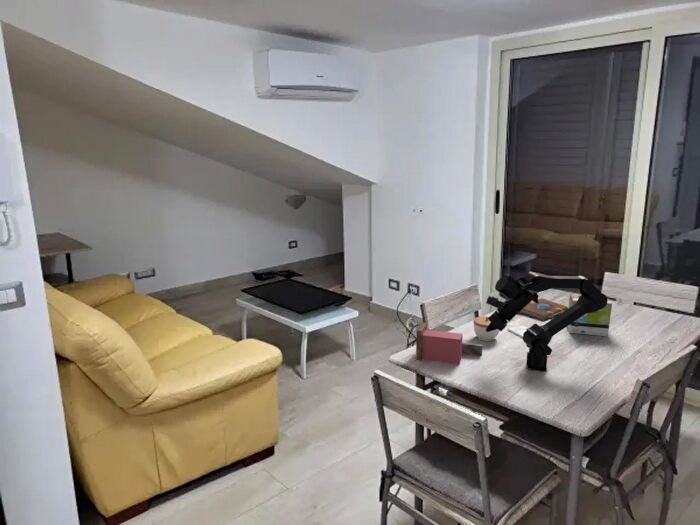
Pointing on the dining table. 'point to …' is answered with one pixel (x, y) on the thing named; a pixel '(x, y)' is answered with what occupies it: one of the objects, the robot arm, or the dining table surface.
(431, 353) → the pink rectangular block
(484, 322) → the lidded jar
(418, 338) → the bookend
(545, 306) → the book
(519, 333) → the external hard drive
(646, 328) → the dining table surface
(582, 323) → the tea box
